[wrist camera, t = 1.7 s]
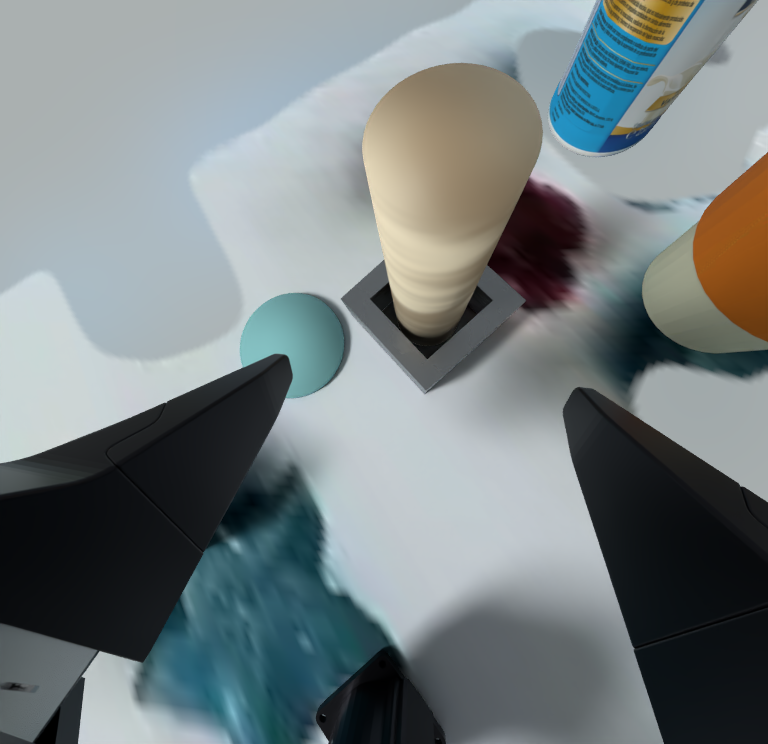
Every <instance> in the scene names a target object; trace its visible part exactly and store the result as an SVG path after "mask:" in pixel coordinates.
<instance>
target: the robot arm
mask: <svg viewBox="0 0 768 744" xmlns="http://www.w3.org/2000/svg"><path fill="white" fill-rule="evenodd" d="M292 380H293V373H292V368H291V364H290V360H289V357H288V356H287V355H285V354H272V355H270V356H268V357H266V358H264V359H261V360H259V361H257V362H255V363H252V364H250V365H248V366H246V367H243V368H241V369H239V370H237V371H234V372H232V373H230V374H228V375H225V376H223V377H221V378H219V379H217V380H214V381H212V382H210V383H208V384H205V385H203V386H201V387H199V388H196V389H194V390H192V391H190V392H187V393H185V394H183V395H181V396H178V397H176V398H174V399H172V400H170V401H168V402H167V403H163V404H160V405H158V406H156V407H154V408H152V409H149V410H147V411H145V412H142V413H140V414H138V415H135V416H133V417H131V418H128V419H126V420H123V421H121V422H118V423H116V424H113V425H111V426H108V427H106V428H103V429H101V430H98V431H96V432H93V433H91V434H88V435H86V436H83V437H80V438H78V439H75V440H73V441H70V442H68V443H65V444H63V445H60V446H57V447H55V448H52V449H50V450H47V451H45V452H42V453H39V454H36V455H33V456H30V457H27V458H23V459H20V460H15V461H11V462H6V463H0V744H78V737H79V728H80V719H81V710H82V700H83V691H84V682H85V678H83V677H82V675H83V674H84V672H85V671H86V670H87V668H88V667H89V665H90V664H91V663H92V661H93V660H94V658H95V657H96V655H97V654H98V653H99V651H102V652H105V653H109V654H112V655H116V656H120V657H123V658H127V659H130V660H134V661H138V662H141V663H143V662H144V660H145V659H146V657H147V656H148V654H149V652H150V651H151V649H152V647H153V645H154V643H155V642H156V640H157V638H158V636H159V634H160V632H161V631H162V629H163V627H164V625H165V623H166V621H167V620H168V618H169V616H170V614H171V612H172V610H173V609H174V607H175V605H176V603H177V601H178V599H179V598H180V596H181V594H182V592H183V590H184V588H185V587H186V585H187V583H188V581H189V579H190V577H191V576H192V574H193V572H194V570H195V568H196V566H197V565H198V563H199V561H200V559H201V557H202V555H203V552H204V551H205V549H206V548H207V546H208V544H209V542H210V540H211V538H212V537H213V535H214V533H215V531H216V529H217V527H218V526H219V524H220V522H221V520H222V518H223V516H224V515H225V513H226V511H227V509H228V507H229V505H230V504H231V502H232V500H233V498H234V496H235V494H236V492H237V491H238V489H239V487H240V485H241V483H242V481H243V480H244V478H245V476H246V474H247V472H248V470H249V469H250V467H251V465H252V463H253V461H254V459H255V458H256V456H257V454H258V452H259V450H260V448H261V447H262V445H263V443H264V441H265V439H266V437H267V436H268V434H269V432H270V430H271V428H272V426H273V425H274V423H275V421H276V419H277V417H278V414H279V412H280V410H281V407H282V405H283V402H284V400H285V397H286V395H287V392H288V390H289V388H290V385H291V383H292ZM563 418H564V423H565V428H566V433H567V438H568V443H569V448H570V453H571V458H572V462H573V465H574V468H575V471H576V474H577V477H578V480H579V484H580V487H581V490H582V493H583V496H584V499H585V502H586V505H587V508H588V511H589V514H590V517H591V520H592V523H593V526H594V530H595V533H596V536H597V539H598V542H599V545H600V548H601V551H602V554H603V557H604V560H605V563H606V566H607V569H608V572H609V575H610V579H611V582H612V585H613V588H614V591H615V594H616V597H617V600H618V603H619V606H620V609H621V612H622V615H623V618H624V621H625V625H626V628H627V631H628V634H629V637H630V640H631V643H632V646H633V647H634V648H635V649H634V653H635V656H636V659H637V662H638V665H639V668H640V671H641V674H642V678H643V681H644V684H645V687H646V690H647V693H648V696H649V699H650V702H651V705H652V708H653V711H654V714H655V717H656V720H657V723H658V726H659V730H660V733H661V736H662V739H663V742H664V744H768V502H766V501H765V500H763V499H762V498H760V497H759V496H757V495H756V494H754V493H753V492H751V491H750V490H748V489H746V488H745V487H740V485H739V483H737V482H735V481H734V480H732V479H731V478H729V477H728V476H726V475H725V474H723V473H722V472H720V471H719V470H717V469H715V468H714V467H712V466H711V465H709V464H708V463H706V462H705V461H703V460H702V459H700V458H699V457H697V456H696V455H694V454H692V453H691V452H689V451H688V450H686V449H685V448H683V447H682V446H680V445H679V444H677V443H676V442H674V441H672V440H671V439H669V438H668V437H666V436H665V435H663V434H662V433H660V432H659V431H657V430H656V429H654V428H653V427H651V426H649V425H648V424H646V423H645V422H643V421H642V420H640V419H639V418H637V417H636V416H634V415H633V414H631V413H629V412H628V411H626V410H625V409H623V408H622V407H620V406H619V405H617V404H616V403H614V402H613V401H611V400H609V399H608V398H606V397H605V396H603V395H602V394H600V393H599V392H597V391H596V390H594V389H591V388H582V387H577V388H575V389H574V390H573V392H572V394H571V395H570V397H569V399H568V401H567V402H566V404H565V406H564V408H563ZM381 660H384V661H385V662H386V663H381V662H380V661H381ZM322 714H324V715H325V716H323V715H322ZM316 721H317V724H318V725H319V727H320V728H321V730H322V731H323V733H324V735H325V736H326V738H327V739H328V741H329V743H328V744H446V741H445V733H444V731H443V729H442V728H441V727H440V725H439V724H438V722H437V721H436V720H435V718H434V717H433V713H432V711H431V710H430V708H429V707H428V706H427V704H426V703H425V701H424V700H423V699H422V697H421V696H420V694H419V693H418V692H417V690H416V689H415V688H414V686H413V685H412V683H411V682H410V681H409V679H407V678H405V677H404V675H403V674H402V672H401V671H400V670H399V668H398V667H397V666H396V664H395V663H394V661H393V660H392V659H391V657H390V656H389V654H388V653H387V652H385V651H380V652H379V653H378V654H376V655H375V656H374V657H373V658H372V659H371V660H370V661H369V662H368V663H366V664H365V665H364V666H363V667H362V668H361V669H360V670H359V671H358V672H357V673H355V674H354V675H353V676H352V677H351V678H350V679H349V680H348V681H347V682H346V683H344V684H343V685H342V686H341V687H340V688H339V689H338V690H337V691H336V692H335V693H333V694H332V695H331V696H330V697H329V698H328V699H327V700H326V701H325V702H324V703H322V704H321V705H320V707H319V708H318V711H317V714H316ZM435 738H440V739H439V740H436V739H435Z"/></svg>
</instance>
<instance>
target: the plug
mask: <svg viewBox="0 0 768 744" xmlns="http://www.w3.org/2000/svg"><path fill="white" fill-rule="evenodd" d="M542 135H543V130H542V121H541V117H540V114H539V110H538V108H537V106H536V104H535V102H534V100H533V99H532V97H531V96H530V94H529V93H528V92H527V91H526V89H525V88H524V87H523V86H522V85H521V84H519V83H518V82H517V81H516V80H515V79H513V78H512V77H510V76H508V75H507V74H505V73H503V72H501V71H498V70H496V69H493V68H490V67H487V66H483V65H477V64H469V63H452V64H445V65H439V66H435V67H431V68H428V69H425V70H422V71H420V72H417V73H415V74H413V75H411V76H409V77H408V78H406V79H404V80H403V81H401V82H400V83H398V84H397V85H396V86H395V87H393V88H392V89H391V90H390V91H389V92H388V93H387V94H386V95H385V96H384V97H383V98H382V99H381V100H380V102H379V103H378V104H377V105H376V107H375V109H374V110H373V112H372V113H371V115H370V118H369V120H368V122H367V125H366V128H365V131H364V136H363V148H362V153H363V160H364V165H365V170H366V175H367V179H368V184H369V189H370V194H371V198H372V203H373V208H374V212H375V217H376V222H377V227H378V231H379V236H380V241H381V246H382V250H383V255H384V260H385V265H386V269H387V274H388V279H389V284H390V288H391V293H392V298H393V303H394V307H395V312H396V317H397V321H398V325H399V328H400V331H401V332H402V333H403V334H404V336H405V337H406V338H407V339H408V340H409V341H411V342H412V343H414V344H417V345H420V346H435V345H438V344H441V343H443V342H444V341H446V340H447V339H449V338H450V337H451V336H452V334H453V333H454V332H455V330H456V328H457V326H458V324H459V322H460V320H461V317H462V315H463V313H464V311H465V309H466V307H467V305H468V303H469V301H470V299H471V297H472V295H473V293H474V290H475V288H476V286H477V284H478V282H479V280H480V278H481V276H482V274H483V272H484V270H485V268H486V266H487V263H488V261H489V259H490V257H491V255H492V253H493V251H494V249H495V247H496V245H497V243H498V241H499V239H500V236H501V234H502V232H503V230H504V228H505V226H506V224H507V222H508V220H509V218H510V216H511V214H512V212H513V209H514V207H515V205H516V203H517V201H518V199H519V197H520V195H521V193H522V191H523V189H524V187H525V185H526V182H527V180H528V178H529V176H530V174H531V172H532V170H533V168H534V166H535V164H536V161H537V159H538V156H539V153H540V149H541V145H542Z"/></svg>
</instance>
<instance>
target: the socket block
mask: <svg viewBox="0 0 768 744" xmlns="http://www.w3.org/2000/svg"><path fill="white" fill-rule="evenodd" d="M341 300H342V301H343V303H344V304H345V305H346V307H347V308H348V310H349V311H350V313H351V314H352V316H353V317H354V318H355V319H356V320H357V321H358V322H359V323H360V324H361V325H362V327H363V328H364V329H365V330H366V331H367V332H368V333H369V334H370V335H371V336H372V337H373V339H374V340H375V341H376V342H377V343H378V344H379V345H380V346H381V347H382V348H383V349H384V350H385V352H386V353H387V354H388V355H389V356H390V357H391V358H392V359H393V360H394V361H395V362H396V364H397V365H398V366H399V367H400V368H401V369H402V370H403V371H404V372H405V373H406V374H407V376H408V377H409V378H410V379H411V380H412V381H413V382H414V383H415V384H416V385H417V386H418V387H419V389H420V390H421V391H422V392H423V393H424V394H425V393H426V392H427V391H428V390H430V389H431V388H432V387H433V386H434V385H435V384H436V383H437V382H438V381H440V380H441V379H442V378H443V377H444V376H445V375H446V374H447V373H448V372H450V371H451V370H452V369H453V368H454V367H455V366H456V365H457V364H458V363H460V362H461V361H462V360H463V359H464V358H465V357H466V356H467V355H468V354H470V353H471V352H472V351H473V350H474V349H475V348H476V347H477V346H478V345H480V344H481V343H482V342H483V341H484V340H485V339H486V338H487V337H488V336H489V335H491V334H492V333H493V332H494V331H495V330H496V329H497V328H498V327H499V326H501V325H502V324H503V323H504V322H505V321H506V320H507V319H508V318H509V317H510V316H511V315H512V314H513V313H514V312H515V311H516V310H517V309H518V308H519V307H520V306H521V305H522V304H523V303H524V302H525V301H526V300H525V299H524V298H523V297H522V296H521V295H519V294H518V293H517V292H516V291H515V290H514V289H513V288H512V287H511V286H510V285H508V284H507V283H506V282H505V281H504V280H503V279H502V278H501V277H500V276H499V275H497V274H496V273H495V272H494V271H493V270H492V269H491V268H490V267H489V266H488V265H487V266H486V268H485V270H484V272H483V274H482V276H481V278H480V280H479V282H478V284H477V286H476V288H475V290H474V293H473V295H472V297H471V299H470V301H469V303H468V305H469V306H470V307H471V308H472V309H473V310H474V311H475V312H476V313H477V315H476V316H475V317H474V318H473V319H472V320H471V321H469V322H468V323H467V324H466V325H465V326H464V327H463V328H462V329H461V330H459V331H458V332H457V333H456V334H455V335H454V336H453V337H452V338H451V339H449V340H448V341H447V342H446V343H445V344H444V345H443V346H442V347H441V348H439V349H438V350H437V351H436V352H435V353H434V354H433V355H432V356H431V357H429V358H428V359H426V358H425V357H424V355H423V354H422V353H421V352H420V351H419V350H418V349H417V348H416V347H415V346H414V345H413V344H412V343H411V342H410V341H409V340H408V339H407V338H406V337H405V336H404V334H403V333H402V332H401V331H400V330H399V329H398V328H397V327H396V326H395V325H394V324H393V323H392V322H391V321H390V320H389V319H388V318H387V317H386V316H385V314H384V313H383V312H382V310H384V309H385V308H386V307H387V306H388V305H389V304H390V303H391V302H392V301H393V298H392V293H391V288H390V284H389V279H388V274H387V269H386V265H385V260H383V261H382V262H381V263H380V264H379V265H378V266H377V267H376V268H374V269H373V270H372V271H371V272H370V273H369V274H368V275H367V276H366V277H364V278H363V279H362V280H361V281H360V282H359V283H358V284H357V285H355V286H354V287H353V288H352V289H351V290H350V291H349V292H348V293H347V294H345V295H344V296H343V297H342V298H341Z"/></svg>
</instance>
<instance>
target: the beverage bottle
mask: <svg viewBox="0 0 768 744" xmlns="http://www.w3.org/2000/svg"><path fill="white" fill-rule="evenodd" d="M757 1H758V0H597V1H596V3H595V5H594V7H593V10H592V12H591V14H590V17H589V19H588V21H587V24H586V26H585V28H584V30H583V33H582V35H581V37H580V40H579V42H578V44H577V46H576V49H575V51H574V54H573V56H572V58H571V60H570V62H569V65H568V67H567V69H566V71H565V73H564V75H563V77H562V79H561V81H560V82H559V84H558V87H557V88H556V91H555V93H554V95H553V97H552V100H551V103H550V106H549V111H548V121H549V126H550V129H551V132H552V134H553V136H554V137H555V139H556V140H557V141H558V142H559V143H560V144H561V145H562V146H564V147H565V148H566V149H568V150H570V151H572V152H574V153H576V154H579V155H583V156H589V157H605V156H611V155H615V154H618V153H621V152H623V151H625V150H627V149H629V148H631V147H633V146H634V145H636V144H637V143H638V142H639V141H641V140H642V139H643V138H644V137H645V136H646V135H647V134H648V132H649V131H650V130H651V129H652V128H653V126H654V125H655V124H656V123H657V121H658V120H659V119H660V117H661V115H662V114H663V113H664V112H665V111H666V110H667V109H668V107H669V106H670V105H671V104H672V103H673V101H674V100H675V99H676V98H677V97H678V95H679V94H680V93H681V92H682V91H683V89H684V88H685V87H686V86H687V84H688V83H689V82H690V81H691V80H692V79H693V77H694V76H695V75H696V74H697V73H698V71H699V70H700V69H701V68H702V67H703V66H704V64H705V63H706V62H707V61H708V60H709V58H710V57H711V56H712V55H713V54H714V52H715V51H716V50H717V49H718V48H719V46H720V45H721V44H722V43H723V42H724V41H725V39H726V38H727V37H728V36H729V34H730V33H731V32H732V31H733V30H734V29H735V27H736V26H737V25H738V24H739V23H740V21H741V20H742V19H743V18H744V17H745V15H746V14H747V13H748V12H749V11H750V9H751V8H752V7H753V6H754V5H755V4H756V2H757Z"/></svg>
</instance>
